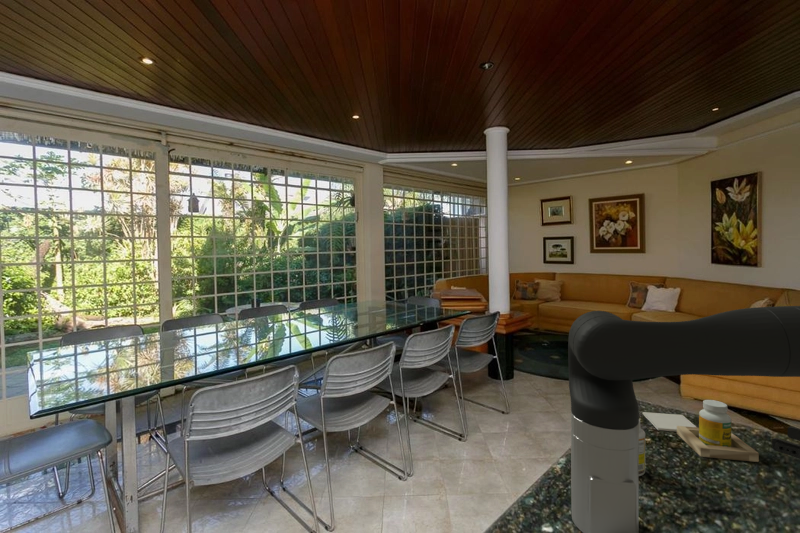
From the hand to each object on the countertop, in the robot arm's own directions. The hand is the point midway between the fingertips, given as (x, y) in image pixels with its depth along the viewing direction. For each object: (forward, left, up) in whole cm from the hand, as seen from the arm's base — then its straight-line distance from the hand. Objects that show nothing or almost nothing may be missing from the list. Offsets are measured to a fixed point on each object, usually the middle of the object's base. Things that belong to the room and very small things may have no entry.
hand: (780, 437), depth 71 cm
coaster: (+18, +11, -6) cm, 22 cm away
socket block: (+7, +7, -6) cm, 12 cm away
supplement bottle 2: (+7, +7, -7) cm, 12 cm away
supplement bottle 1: (-6, +28, -7) cm, 29 cm away
